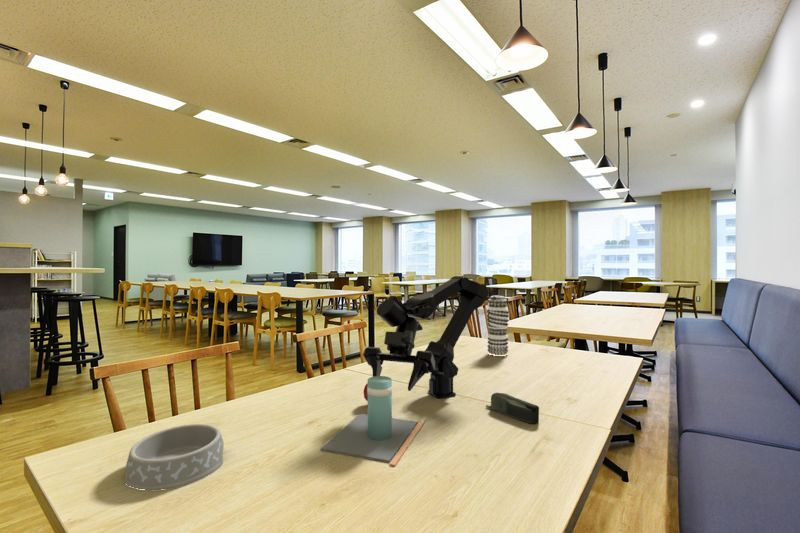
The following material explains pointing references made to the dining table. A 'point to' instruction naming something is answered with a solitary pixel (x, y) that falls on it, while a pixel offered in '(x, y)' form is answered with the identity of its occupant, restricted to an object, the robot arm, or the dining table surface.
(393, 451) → the mat
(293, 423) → the dining table surface
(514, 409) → the black stapler
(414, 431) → the orange strip
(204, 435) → the dog bowl
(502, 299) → the grey patterned cylinder
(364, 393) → the onion
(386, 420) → the teal cylinder
